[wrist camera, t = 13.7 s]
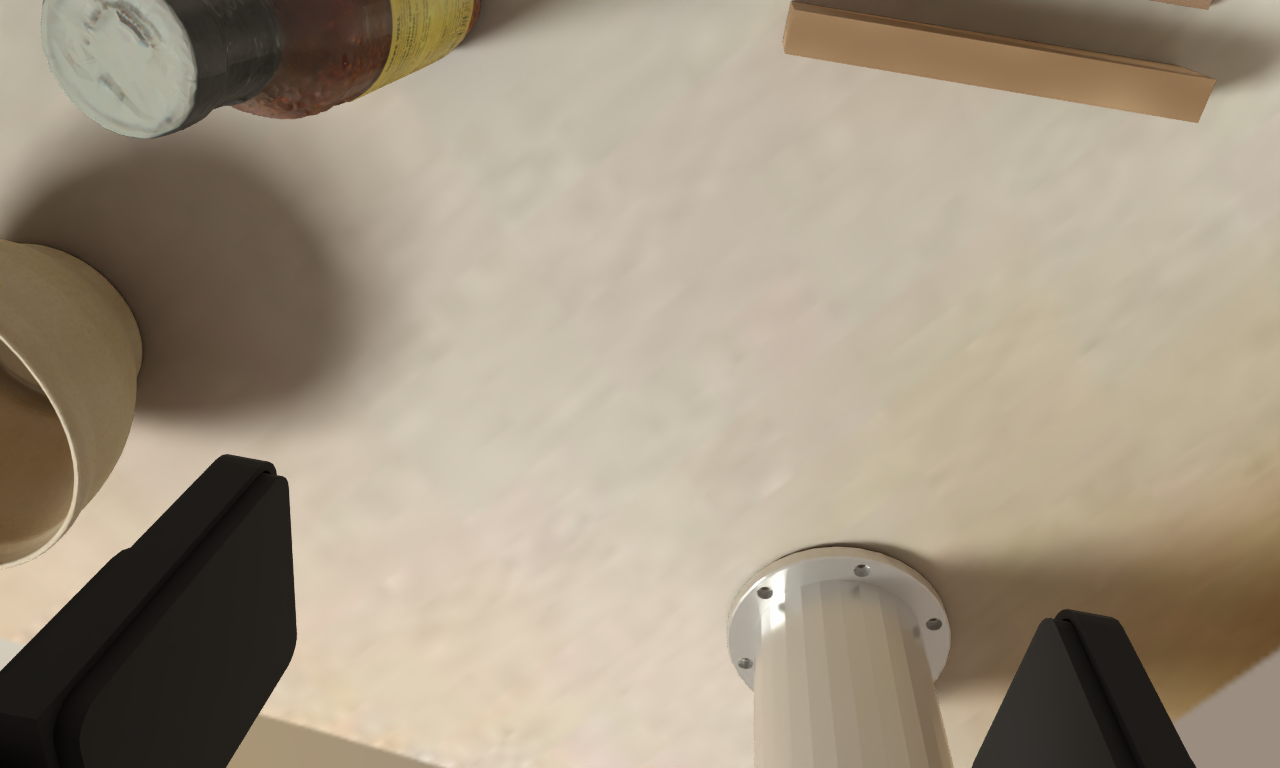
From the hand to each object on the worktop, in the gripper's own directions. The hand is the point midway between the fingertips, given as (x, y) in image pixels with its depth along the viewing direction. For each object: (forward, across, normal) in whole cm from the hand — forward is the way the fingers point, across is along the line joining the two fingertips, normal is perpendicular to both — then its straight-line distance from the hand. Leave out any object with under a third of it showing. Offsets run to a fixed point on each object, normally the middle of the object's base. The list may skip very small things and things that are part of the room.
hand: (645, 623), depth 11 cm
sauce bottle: (+32, +14, -3) cm, 36 cm away
